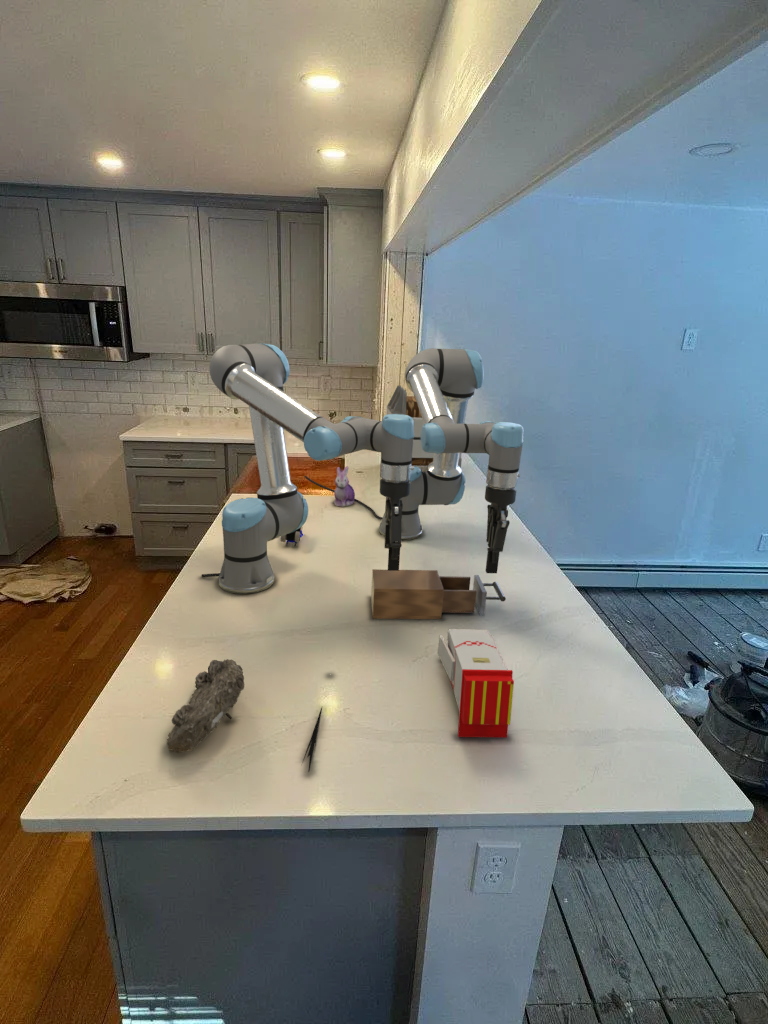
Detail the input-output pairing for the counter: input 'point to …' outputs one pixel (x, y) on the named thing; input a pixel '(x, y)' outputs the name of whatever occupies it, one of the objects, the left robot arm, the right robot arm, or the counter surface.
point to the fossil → (206, 705)
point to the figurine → (343, 489)
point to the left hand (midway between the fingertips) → (391, 558)
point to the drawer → (466, 594)
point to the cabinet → (406, 594)
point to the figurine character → (292, 537)
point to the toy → (478, 682)
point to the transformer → (410, 407)
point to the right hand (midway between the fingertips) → (491, 572)
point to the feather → (313, 740)
